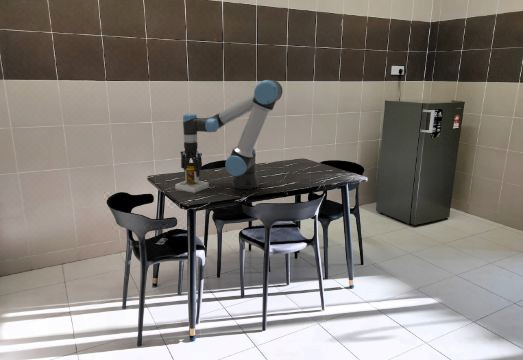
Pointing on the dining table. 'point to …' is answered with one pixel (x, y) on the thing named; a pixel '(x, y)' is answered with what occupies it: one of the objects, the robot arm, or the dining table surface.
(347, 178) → the dining table surface
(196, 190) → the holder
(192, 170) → the condiment
